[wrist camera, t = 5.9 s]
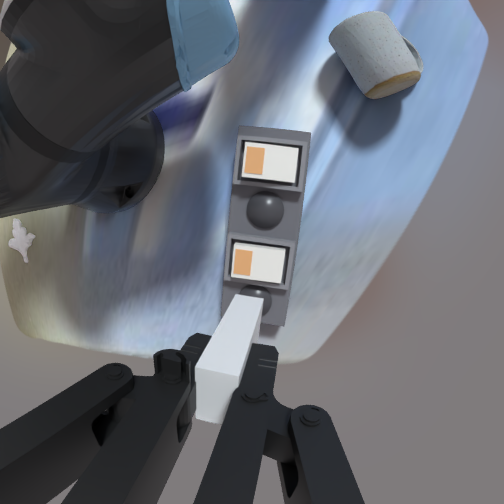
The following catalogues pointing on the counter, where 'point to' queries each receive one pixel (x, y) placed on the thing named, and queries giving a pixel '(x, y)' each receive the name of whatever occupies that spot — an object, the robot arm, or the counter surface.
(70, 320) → the counter surface
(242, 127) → the power strip
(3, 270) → the counter surface
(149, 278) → the counter surface
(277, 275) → the rocker outlet
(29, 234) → the acanthus leaf ornament
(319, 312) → the counter surface
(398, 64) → the ceramic mug
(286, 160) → the rocker outlet
